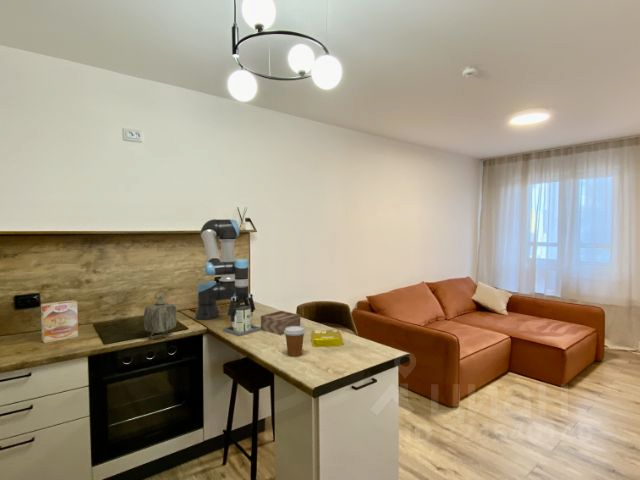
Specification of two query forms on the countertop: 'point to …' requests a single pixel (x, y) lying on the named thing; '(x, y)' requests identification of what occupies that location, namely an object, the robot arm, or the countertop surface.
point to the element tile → (326, 338)
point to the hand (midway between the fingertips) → (242, 325)
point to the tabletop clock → (160, 317)
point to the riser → (279, 321)
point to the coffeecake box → (59, 321)
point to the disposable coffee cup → (294, 340)
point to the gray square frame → (229, 330)
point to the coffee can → (243, 318)
